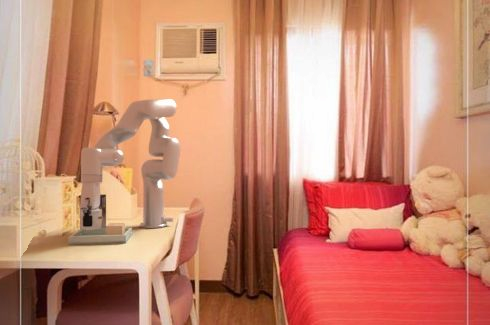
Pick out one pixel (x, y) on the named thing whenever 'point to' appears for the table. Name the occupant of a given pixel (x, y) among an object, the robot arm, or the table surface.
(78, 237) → the grey-green tray
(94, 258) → the table surface
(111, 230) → the parcel
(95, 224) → the skincare box
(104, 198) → the coffee box
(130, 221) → the table surface
